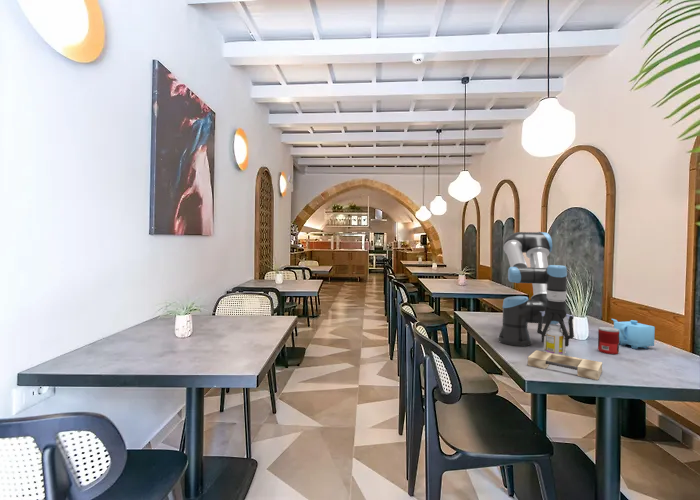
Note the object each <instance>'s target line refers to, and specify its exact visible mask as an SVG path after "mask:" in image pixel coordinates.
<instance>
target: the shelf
mask: <svg viewBox="0 0 700 500" xmlns="http://www.w3.org/2000/svg"><path fill="white" fill-rule="evenodd" d="M527 366H528V367H534V368H538V369H539V368H540V369H544V370H546V369H547V368H548V367H549V366H555V367H559V368H565V369H570V370H575V371H577V372H576V373H577V377H582V378H585V379H592V380H594V381H595V380H596V381H598V380H599V379H600V377H601V375H602V373H603V361H596V360H592V359H587V358H581V357H575V356H569V355H565V354H563V355H560V354H554V353H549V352H546V351H544V350H542V351H541V350H537V349H536V350H534V351H533V352H532V353H531V354H530V355H528V356H527Z"/></svg>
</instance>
